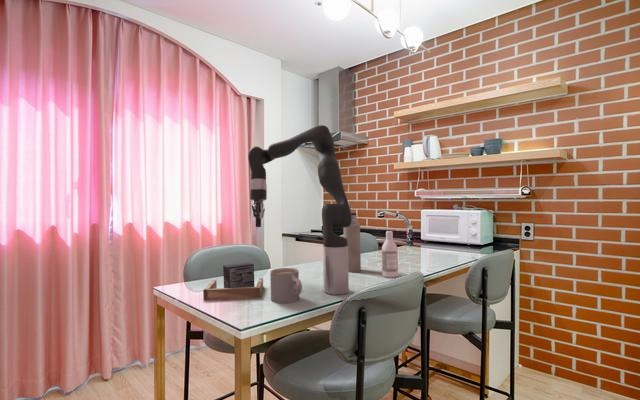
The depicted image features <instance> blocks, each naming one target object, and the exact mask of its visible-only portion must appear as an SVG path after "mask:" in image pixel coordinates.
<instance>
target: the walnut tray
mask: <svg viewBox="0 0 640 400" xmlns="http://www.w3.org/2000/svg"><path fill="white" fill-rule="evenodd" d="M217 283H218V282H217V279H212V280H211V281H210V282H209V284H207V285H206V286H205V288H204V289H203V290H202V291H203V295H202V296H203V297H202V298H203V301H207V300H208V301H209V300H211V301H212V300H229V299H233V300H235V299H252V298H255V299H256V298H261V295H262V292H263V289H264V277H260V278H258V281H257V284H256V286H255V287H240V288H224V287H219V288H217Z"/></svg>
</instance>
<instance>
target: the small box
mask: <svg viewBox="0 0 640 400" xmlns="http://www.w3.org/2000/svg"><path fill="white" fill-rule="evenodd" d="M254 267H255V264H254V262H253V263H251V262H249V261H245V262H239V263H237V262H236V263H232V264H231V263H230V264H224V265H223V266H222V271H223V288H240V287H256V286H255V268H254Z"/></svg>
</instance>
